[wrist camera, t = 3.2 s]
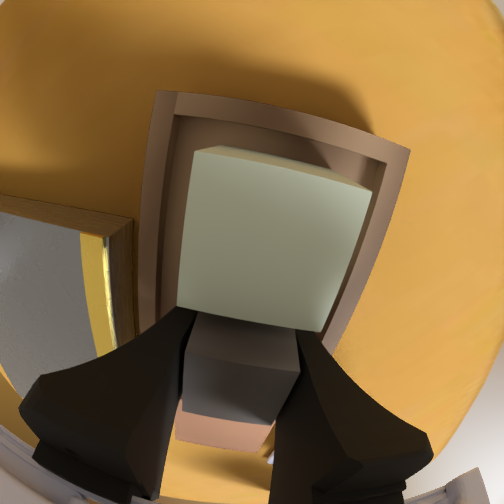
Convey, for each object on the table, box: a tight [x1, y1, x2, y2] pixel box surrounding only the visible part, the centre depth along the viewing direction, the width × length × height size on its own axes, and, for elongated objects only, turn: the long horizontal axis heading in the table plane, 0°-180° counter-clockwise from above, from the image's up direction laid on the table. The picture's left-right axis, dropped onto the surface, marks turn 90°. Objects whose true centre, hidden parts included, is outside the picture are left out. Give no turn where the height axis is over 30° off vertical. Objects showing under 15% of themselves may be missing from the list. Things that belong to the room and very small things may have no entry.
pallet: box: [138, 90, 411, 426], centre depth 10 cm, size 9×16×7 cm, turn 169°
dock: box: [0, 194, 135, 398], centre depth 15 cm, size 16×22×3 cm
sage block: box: [177, 145, 372, 332], centre depth 8 cm, size 4×4×4 cm
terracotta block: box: [175, 393, 275, 453], centre depth 12 cm, size 4×4×4 cm
